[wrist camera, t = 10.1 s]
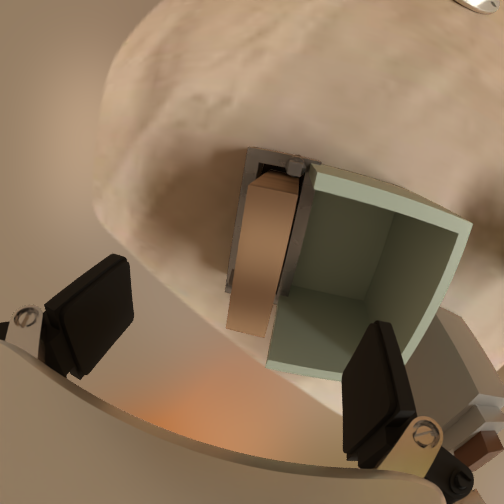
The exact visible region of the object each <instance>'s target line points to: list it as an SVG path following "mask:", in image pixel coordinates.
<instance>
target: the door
mask: <svg viewBox="0 0 504 504" xmlns="http://www.w3.org/2000/svg"><path fill="white" fill-rule="evenodd" d="M298 190H299V177H292V176H290V175H289V174H287V173H285V172H280V171H275V170H269V171H268V172H266V173H265V174H263V175H262V176H260V177H259V178H257V179H256V180H255V181H253V182H252V183H250V184H249V185H248V190H247V196H246V202H245V208H244V214H243V220H242V226H241V232H240V239H239V245H238V251H237V258H236V264H235V269H232V271H231V274H230V277H229V285H232V290H231V297H230V304H229V310H228V317H227V324H226V329H230V330H234V331H238V332H242V333H246V334H250V335H255V336H259V337H263V338H264V337H265V333H266V330H267V326H268V322H269V318H270V314H271V310H272V306H273V302H274V298H275V294H276V290H277V286H278V282H279V278H280V274H281V269H282V265H283V261H284V257H285V252H286V248H287V244H288V239H289V235H290V230H291V226H292V221H293V217H294V212H295V208H296V203H297V198H298Z"/></svg>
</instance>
